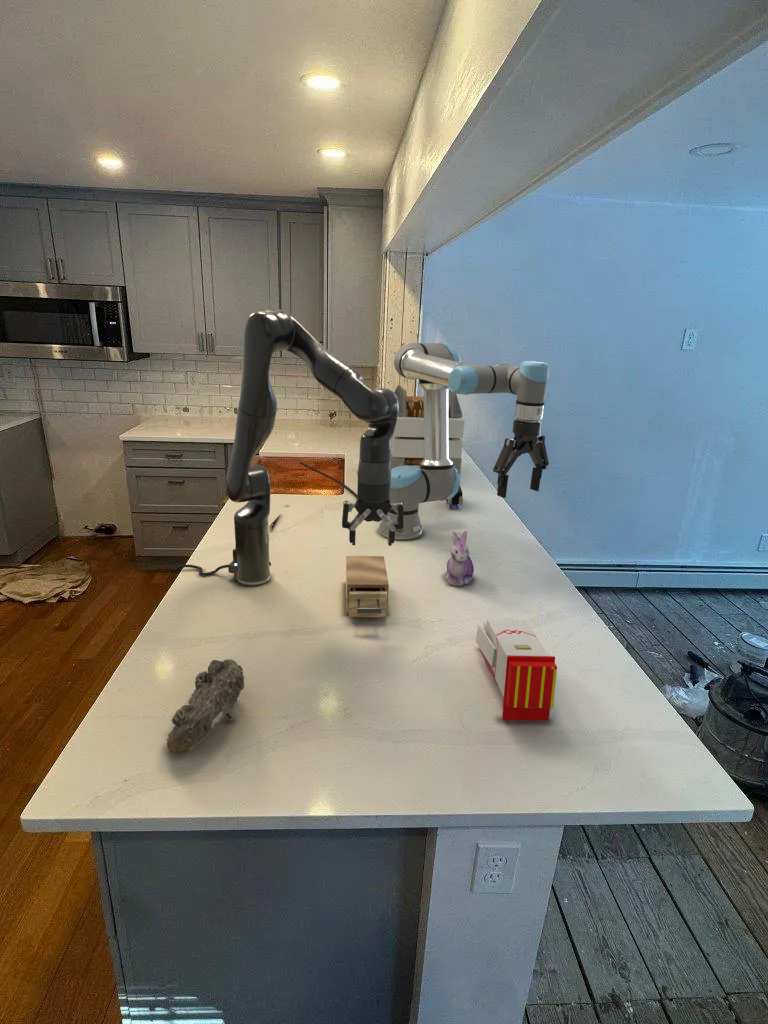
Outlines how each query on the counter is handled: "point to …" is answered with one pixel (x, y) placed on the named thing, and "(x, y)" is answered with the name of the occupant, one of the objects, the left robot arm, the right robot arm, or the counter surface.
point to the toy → (519, 668)
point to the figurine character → (456, 499)
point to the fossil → (206, 705)
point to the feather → (275, 522)
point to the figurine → (459, 562)
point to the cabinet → (365, 574)
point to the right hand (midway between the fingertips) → (518, 493)
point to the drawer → (367, 602)
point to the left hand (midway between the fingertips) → (371, 544)
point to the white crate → (422, 431)
